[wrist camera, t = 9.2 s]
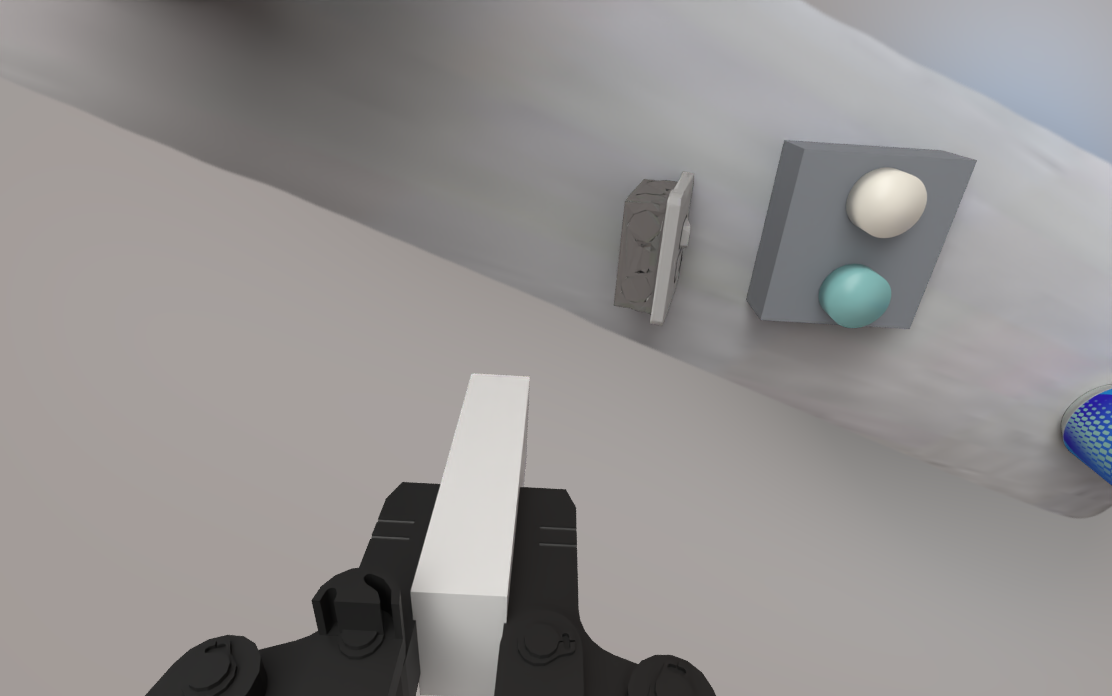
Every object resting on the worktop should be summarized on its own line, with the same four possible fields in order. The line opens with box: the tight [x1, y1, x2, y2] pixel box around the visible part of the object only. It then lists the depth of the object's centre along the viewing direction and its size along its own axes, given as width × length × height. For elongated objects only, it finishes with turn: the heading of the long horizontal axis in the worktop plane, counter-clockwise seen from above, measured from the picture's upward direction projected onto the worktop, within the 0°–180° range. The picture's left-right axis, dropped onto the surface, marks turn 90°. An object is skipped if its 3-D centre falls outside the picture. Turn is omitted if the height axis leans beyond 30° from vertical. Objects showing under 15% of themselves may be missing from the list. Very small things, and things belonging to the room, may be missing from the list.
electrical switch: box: [614, 172, 694, 325], centre depth 42 cm, size 9×5×9 cm, turn 177°
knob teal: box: [819, 264, 891, 328], centre depth 44 cm, size 4×4×6 cm
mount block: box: [746, 140, 977, 329], centre depth 44 cm, size 13×12×4 cm
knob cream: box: [846, 167, 927, 238], centre depth 41 cm, size 4×4×6 cm
